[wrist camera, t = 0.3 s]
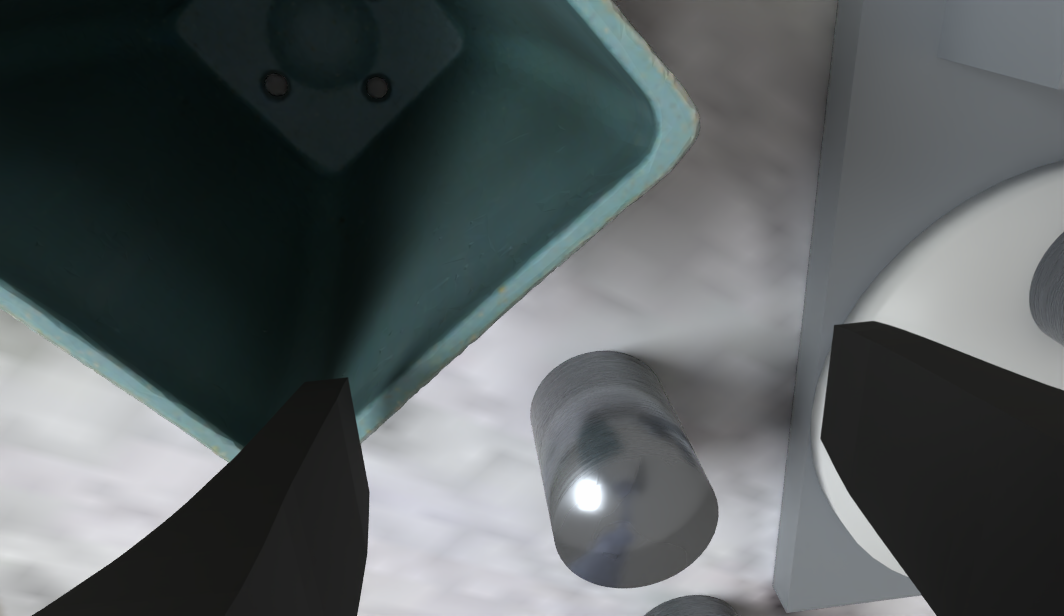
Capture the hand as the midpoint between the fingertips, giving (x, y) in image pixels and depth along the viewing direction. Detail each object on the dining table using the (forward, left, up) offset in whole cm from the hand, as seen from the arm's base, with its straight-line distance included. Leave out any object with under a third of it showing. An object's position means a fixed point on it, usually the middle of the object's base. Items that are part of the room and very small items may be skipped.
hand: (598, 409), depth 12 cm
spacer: (-7, -2, -10) cm, 12 cm away
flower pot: (+4, +4, -10) cm, 12 cm away
